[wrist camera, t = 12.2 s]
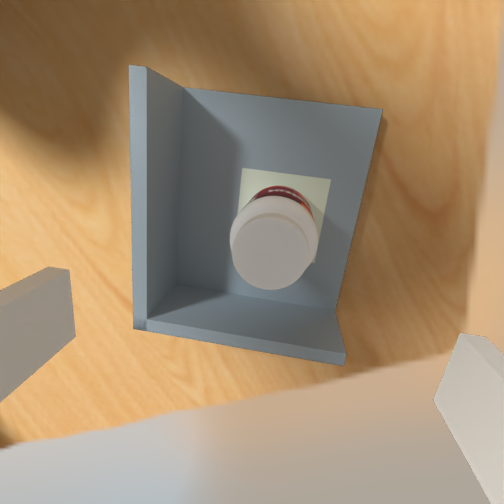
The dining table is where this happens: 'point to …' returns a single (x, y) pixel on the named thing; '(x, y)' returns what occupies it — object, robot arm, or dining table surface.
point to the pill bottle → (274, 238)
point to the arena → (231, 203)
